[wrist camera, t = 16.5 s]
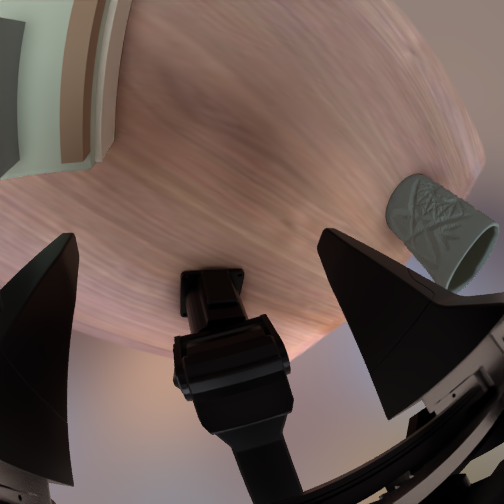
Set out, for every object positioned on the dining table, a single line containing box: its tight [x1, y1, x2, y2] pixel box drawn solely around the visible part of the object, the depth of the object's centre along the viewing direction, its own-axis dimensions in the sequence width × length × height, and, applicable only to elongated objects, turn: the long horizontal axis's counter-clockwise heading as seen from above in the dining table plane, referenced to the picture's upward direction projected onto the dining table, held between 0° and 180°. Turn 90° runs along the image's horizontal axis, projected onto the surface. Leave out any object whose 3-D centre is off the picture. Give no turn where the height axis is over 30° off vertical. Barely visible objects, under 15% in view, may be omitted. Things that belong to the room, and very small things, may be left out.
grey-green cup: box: [386, 174, 499, 294], centre depth 26 cm, size 10×10×12 cm
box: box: [94, 0, 132, 163], centre depth 9 cm, size 12×14×5 cm
